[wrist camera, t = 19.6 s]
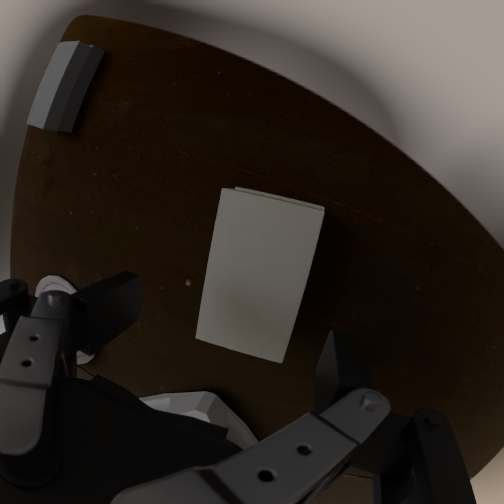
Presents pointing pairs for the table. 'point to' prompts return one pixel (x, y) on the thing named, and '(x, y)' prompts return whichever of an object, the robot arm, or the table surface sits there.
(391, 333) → the table surface
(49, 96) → the gray block
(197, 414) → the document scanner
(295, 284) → the light grey rectangular block
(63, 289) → the teacup
